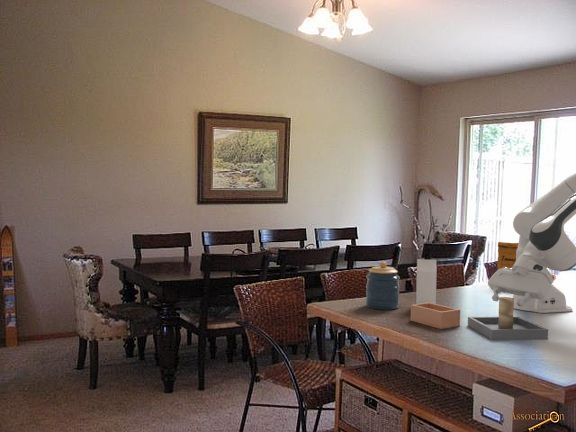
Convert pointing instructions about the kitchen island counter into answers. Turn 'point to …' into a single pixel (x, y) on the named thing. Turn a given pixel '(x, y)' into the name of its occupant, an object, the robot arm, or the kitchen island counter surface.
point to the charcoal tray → (519, 331)
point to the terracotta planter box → (435, 315)
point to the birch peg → (506, 313)
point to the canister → (382, 288)
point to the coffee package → (506, 254)
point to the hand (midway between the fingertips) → (506, 302)
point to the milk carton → (426, 281)
